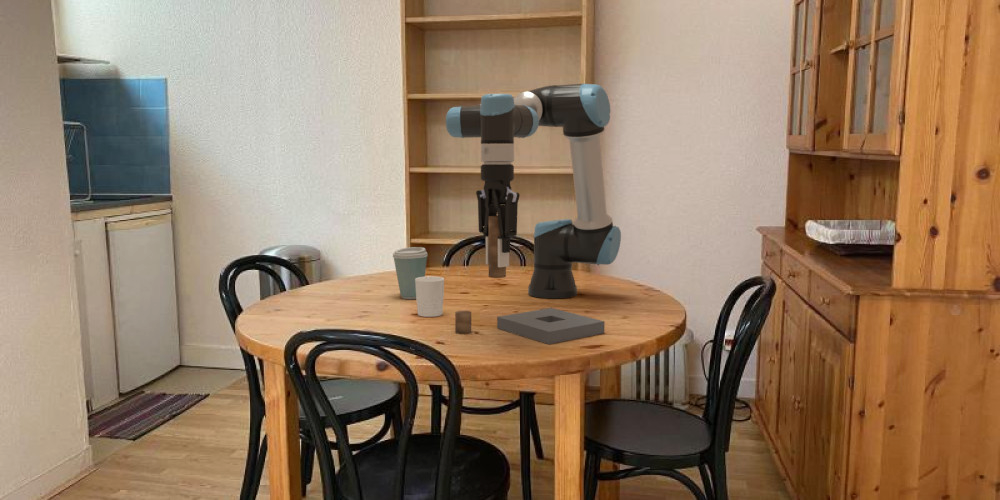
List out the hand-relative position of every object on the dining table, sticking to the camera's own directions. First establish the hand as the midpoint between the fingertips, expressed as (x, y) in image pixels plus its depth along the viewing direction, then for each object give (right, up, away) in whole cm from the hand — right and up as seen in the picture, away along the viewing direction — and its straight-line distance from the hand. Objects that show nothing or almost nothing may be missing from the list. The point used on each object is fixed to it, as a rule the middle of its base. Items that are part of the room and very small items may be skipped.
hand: (497, 265), depth 177 cm
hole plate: (+13, -17, +15) cm, 26 cm away
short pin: (-9, -17, +13) cm, 23 cm away
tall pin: (0, -3, 0) cm, 3 cm away
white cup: (-19, -14, +33) cm, 41 cm away
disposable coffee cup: (-27, -11, +57) cm, 64 cm away
